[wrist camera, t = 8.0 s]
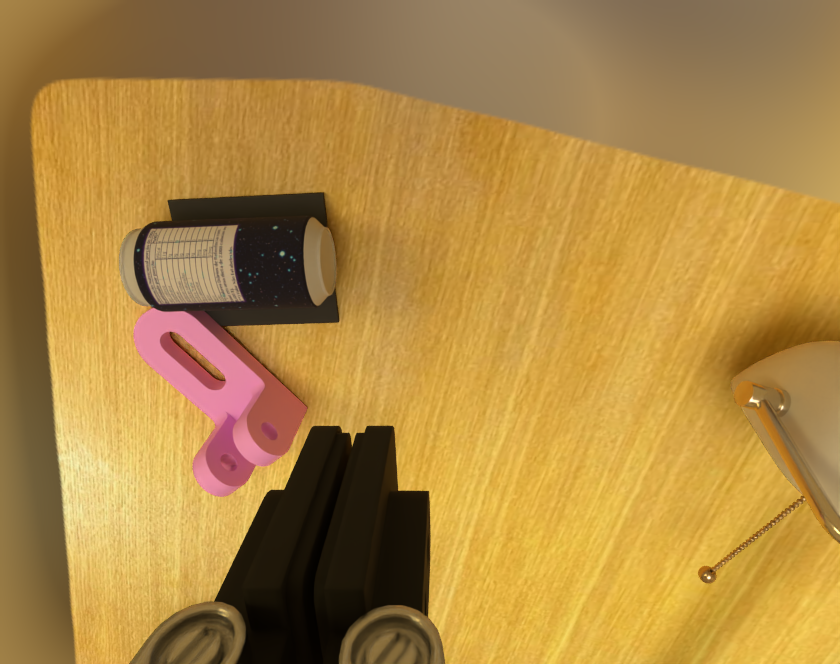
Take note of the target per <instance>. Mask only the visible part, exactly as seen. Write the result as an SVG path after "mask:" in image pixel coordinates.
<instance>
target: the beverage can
mask: <svg viewBox="0 0 840 664" xmlns="http://www.w3.org/2000/svg"><path fill="white" fill-rule="evenodd" d="M119 270H120V275H121V279H122V282H123V285H124V287H125V289H126V291H127V293H128V294H129V296H130V297H131V298H132V299H133V300H134V301H135V302H136V303H138V304H139V305H142V306H151V307H153V308H155V309H157V310H159V311H162V312H178V311H214V310H249V309H284V308H317V307H318V306H320V305H321V304H322V302H323V301H324V300H325V299H326V298H327V296H330V295H332V293H333V292H334V288H335V284H336V253H335V246H334V241H333V237H332V234H331V232H330V230H329V229H328V228H327V227H324V226H323V225H322V224H321V223H320V222H319V221H318V220H317V219H315V218H314V217H313V216H285V217H260V218H235V219H210V220H185V221H160V222H152V223H150V224H148V225H147V226H145V227H143V228H142V229H135V230H132V231H131V232H129V233H128V234H127V235H126V237H125V238H124V240H123V242H122V245H121V248H120V253H119Z"/></svg>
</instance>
